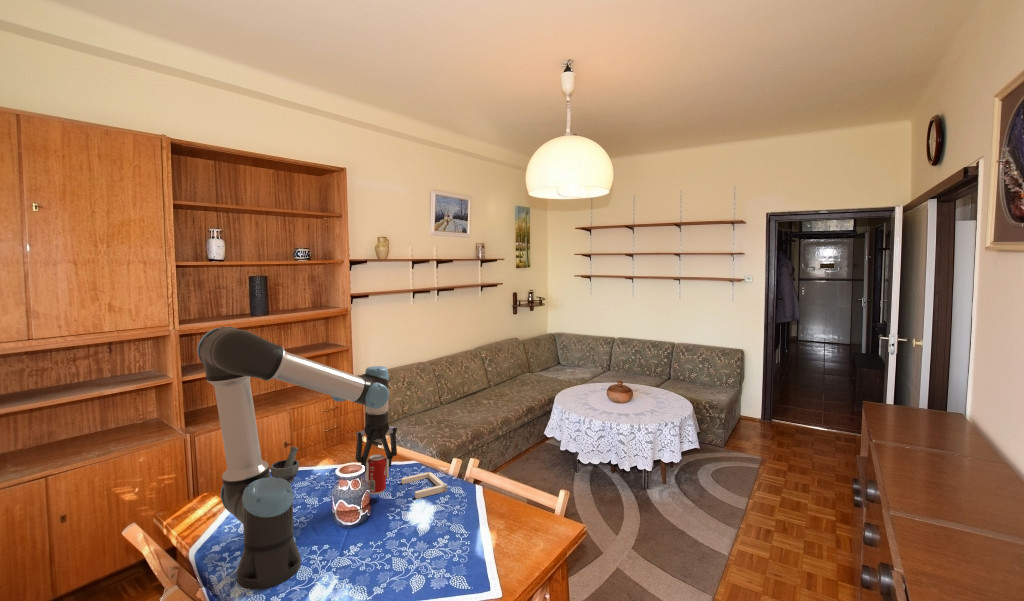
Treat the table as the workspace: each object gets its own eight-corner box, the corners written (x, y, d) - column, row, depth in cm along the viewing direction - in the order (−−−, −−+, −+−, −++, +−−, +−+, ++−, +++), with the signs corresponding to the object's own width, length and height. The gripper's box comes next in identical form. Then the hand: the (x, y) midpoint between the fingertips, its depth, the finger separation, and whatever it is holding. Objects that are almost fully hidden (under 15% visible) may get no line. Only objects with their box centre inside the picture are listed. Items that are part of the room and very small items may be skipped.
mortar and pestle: (285, 489, 175) (285, 456, 174) (264, 486, 177) (264, 453, 177) (307, 477, 185) (307, 446, 185) (287, 474, 188) (286, 443, 188)
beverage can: (389, 490, 167) (389, 456, 167) (375, 497, 162) (375, 461, 162) (377, 486, 171) (377, 452, 171) (362, 492, 166) (363, 457, 165)
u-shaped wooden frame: (447, 491, 173) (447, 485, 173) (416, 498, 167) (416, 493, 167) (430, 476, 185) (430, 471, 185) (401, 483, 179) (401, 478, 179)
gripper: (400, 406, 174) (399, 470, 175) (345, 413, 164) (344, 480, 164) (407, 410, 168) (407, 476, 168) (350, 418, 157) (350, 488, 158)
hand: (376, 478), depth 166 cm, fingers closed on beverage can, 6 cm apart
